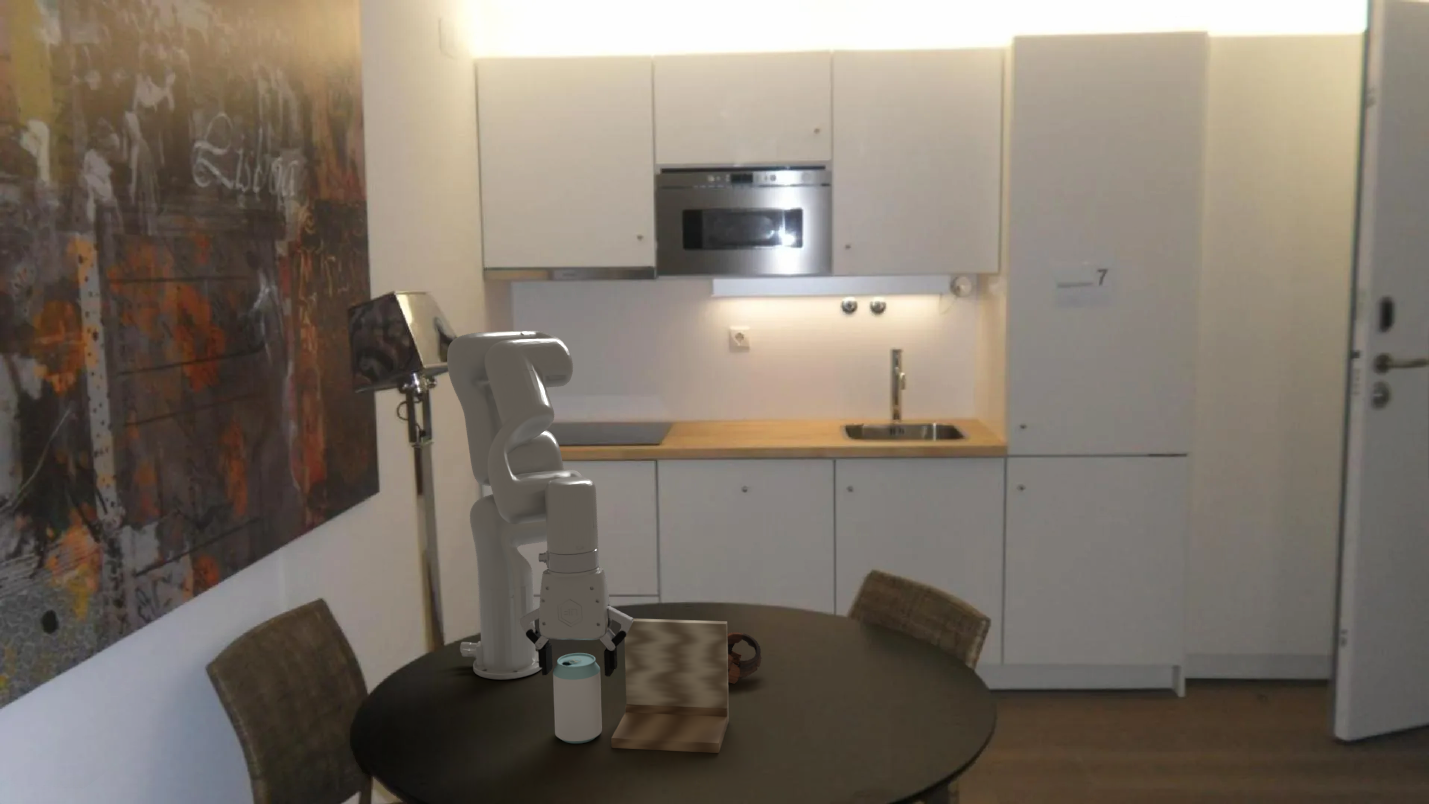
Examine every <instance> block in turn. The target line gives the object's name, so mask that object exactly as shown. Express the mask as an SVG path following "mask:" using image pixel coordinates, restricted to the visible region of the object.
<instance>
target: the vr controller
mask: <svg viewBox="0 0 1429 804" xmlns="http://www.w3.org/2000/svg"><path fill="white" fill-rule="evenodd" d="M727 635H728V683H730V684H733V685H734V684H736V683H737V682H738V681H739V680H740V679H741V680H742V679H744V678H746V677H748V676H750V675H752V674H753V673H755V672H756V671H758V668H759V667H760V665H761V662H762V659H763V658H762V654H761V653H762V651H761V646H760V644H759V643H758V641H757V640H756V639H755V638H754V637H752V636H751V635H749V634H747V633H743V632H739V631H738V632H737V631H733V632H729V633H728V632H727ZM742 641H744V642H745V643H747V645H748V646H749V647H751V648H753V649H754V651H755V654H754V655H753V657H751V658H750V659H746V660H742V659H741V658H742V656H743V655H742V654H741V653H739V652H736V651H734V650H733V648H734V647H735V644H738V643H740V642H742Z"/></svg>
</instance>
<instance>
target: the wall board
mask: <svg viewBox="0 0 1429 804" xmlns="http://www.w3.org/2000/svg"><path fill="white" fill-rule="evenodd" d="M633 620H634V621H633V624H632V626H631V628H630V630H629V632H628V634H627V636H626V637H625V638H624V662H625V663H624V664H625V665H624V666H625V667H624V668H625V697H626V698H625V699H626V702H625V703H626V704H625V706H624V710H625V712H624V714H623V716H622V717H621V719H620V721H619V723H618V725H617V727H616V729H615V730H614V732H613V734H612V736H611V741H610V742H611V748H612V749H629V750H630V749H631V750H632V749H634V750H648V751H649V750H650V751H651V750H652V751H654V750H655V751H667V752H668V751H671V752H688V753H689V752H690V753H691V752H692V753H714V754H719V753H720V751H721V747H722V744H723V741H724V738H725V734H726V731H727V728H728V726H729V725H728V724H729V721H730V717H729V716H730V712H729V710H730V709H729V707H730V706H729V682H728V674H729V669H728V635H727V634H728V621H725V620H724V621H722V620H719V621H718V620H694V619H693V620H690V619H664V618H663V619H660V618H659V619H658V618H657V619H656V618H633Z"/></svg>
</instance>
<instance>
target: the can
mask: <svg viewBox="0 0 1429 804" xmlns="http://www.w3.org/2000/svg"><path fill="white" fill-rule="evenodd" d="M556 663H557V664H556V665H555V666H554V668H553V669H552V670H553V671H552V681H553V683H552V684H553V707H554V710H553V711H554V713H553V714H554V734H555V736H556V737H557V738H558V739H560V741H561V740H562V741H563V742H565V743H569V744H583V743H588V742H591V741H593V740H595V738H597V737H599V736H600V734H601V733H602V731H603V722H602V721H603V720H602V690H601V688H602V686H601V685H602V684H601V667H600V666H599V664H598V663H597V662H596V657H595V656H594V655H592V654H589V653H587V652H586V653H584V652H575V653H568V654H565V655H562V656H560V657H558V659H557V660H556Z"/></svg>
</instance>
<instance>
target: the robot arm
mask: <svg viewBox="0 0 1429 804" xmlns="http://www.w3.org/2000/svg"><path fill="white" fill-rule="evenodd" d="M446 356H447V357H446V359H447V361H446V363H447V364H446V365H447V371H448V376H449V379H450V383H451V385H452V388H453V390H454V392H455V394H456V397H457V398H458V399H457V400H458V401H459V403H460V406H461V408H462V411H463V415H464V421H465V430H466V436H467V444H468V451H469V457H470V458H469V459H470V465H471V470H472V475H473V477H474V479H475V480H476V482H477V484H479V485H481V486H484V487H490V488H491V492H492V494H488V495H484V496H482V497H481V498H479V499H478V500H476V501H475V502H474V503H473V504H472V506H471V509H470V512H469V523H470V530H471V533H472V538H473V543H474V548H475V555H476V566H477V581H478V583H477V584H478V599H479V601H478V602H479V604H478V605H479V621H480V640H479V641H477V642H471V641H469V642H468V641H461V643H460V646H459V651H460V653H461V656H462V657H463V658H464V657H467V658H469V657H472V658H474V659H475V660H474V661H473V665H472V670H473V672H474V673H475V674H476V675H477V676H479V677H482V678H484V679H490V680H513V679H520V678H524V677H528V676H531V675H534V674H536V673H537V672H539V671H540V670H541V675H542V676H547V675H549V673H550V672H551V671H552V670H553V669H554V668H553V667H554V665H553V647H552V646H553V645H552V644H551V643H550V640H564V641H565V640H567V641H568V640H569V641H571V640H572V641H595V640H600V641H601V643H602V644H603V645H604V646H605V649H604V651H603V664H604V666H603V667H604V676H605V677H608V678H609V677H611V676H612V674H613V673H614V671H615V670H617V668H618V646H619V645H620V644H621V643H622V642H623V641H624V640H625V637H626V636H627V634H628V632H629V630H630V628H631V626H632V624H633V621H634V620H633V619H634V617H632V616H630V615H628V614H626V613H624V612H622V611H620V610H618V609H616V608H615V607H613V606H611V601H610V595H609V594H610V593H609V588H608V582H607V577H606V574H605V571H604V568H603V567H602V566H600V559H599V558H600V555H599V554H600V553H599V536H598V535H599V533H598V530H599V529H598V511H597V510H598V509H597V504H598V503H597V488H596V487H597V486H596V485H595V483H594V481H593V480H592V479H590V478H587V477H584V476H583V474H582V473H580V472H579V471H578V470H575V469H564V462H563V458H562V452H561V447H560V445H559V443H558V440H557V438H556V437H555V435H554V434H553V433H551V431H549V430H548V429H549V428H550V427H551V426H552V424H553V422H554V420H555V410H554V407H553V405H552V401H551V399H550V395H549V394H548V391H547V388H559V387H564V386H566V385H568V383H569V382H570V380H571V379H572V376H573V371H574V369H573V368H574V365H573V364H574V363H573V358H572V355H571V353H570V350H569V348H568V346H567V345H566V343H564V342H563V341H562V340H561V339H560V338H559V337H557V336H555V335H551V334H550V333H546V332H544V331H540V330H513V331H510V330H509V331H482V332H471V333H466V334H462V335H460V336H458V337H455V338H454V339H452V341H451V342H450V344H449V345H448V348H447V353H446ZM545 542H546V547H547V548H546V549H547V550H546V551H545V552H543V553H542V552H539V553H538V562H539V563H544V564H545V565H546V568H547V569H545V570H544V571H542V575H541V581H540V594H539V607H538V608H536V609H535V606H534V605H535V602H534V598H535V597H534V595H535V594H534V573H533V568H532V565H531V564H530V562H529V561H528V559H527V558H526V557H525V556H524V555H523V554H522V553H521V552H519V550H518V548H519V547H520V546H525V545H531V544H537V543H545ZM536 620H538V625H539V627H538V629H539V630H538V629H537V628H536V625H535V621H536ZM612 621H614V622H617V623H618V624H620V626H621V627H620V629H619V630H618V632H617V633H616V634H615V633H614V632H613V630H612V629H611V626H612ZM536 649H537V651H536Z"/></svg>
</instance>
